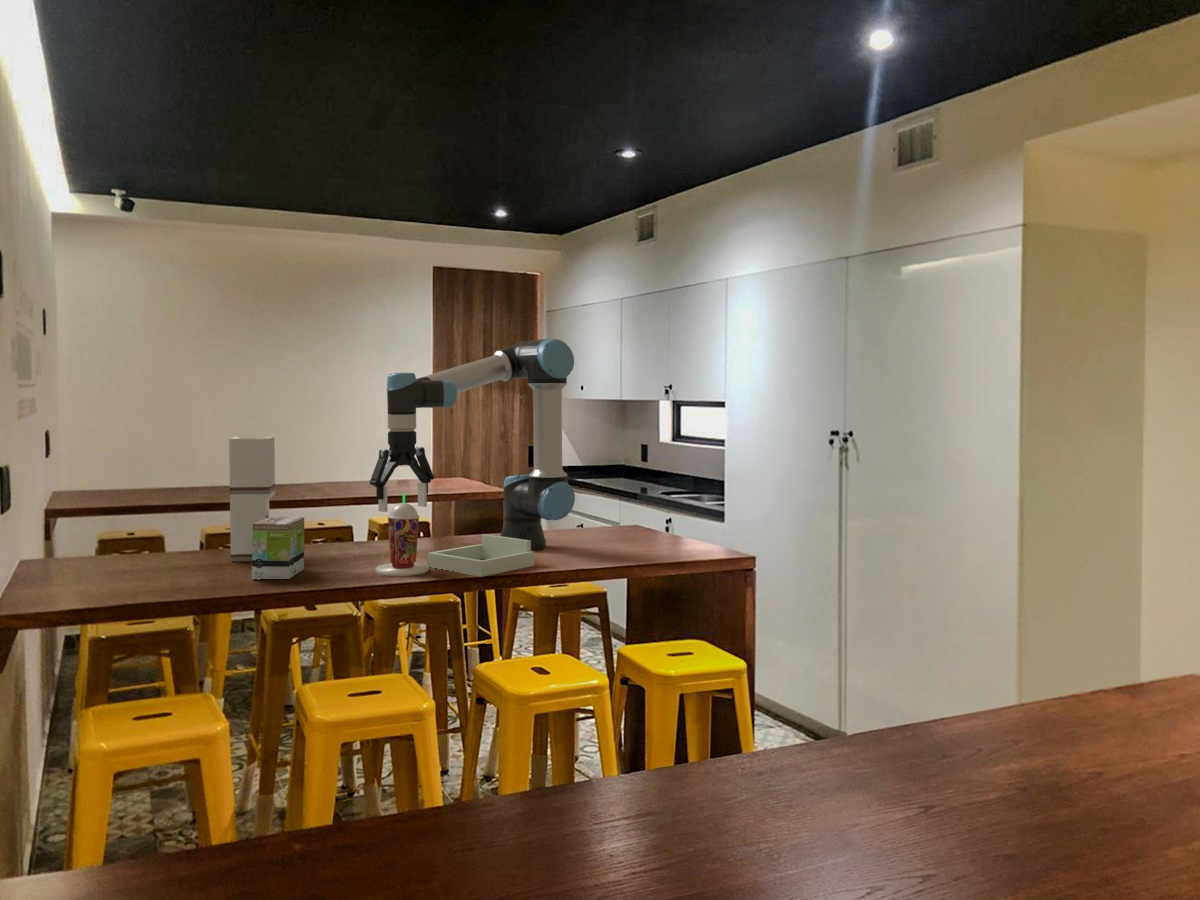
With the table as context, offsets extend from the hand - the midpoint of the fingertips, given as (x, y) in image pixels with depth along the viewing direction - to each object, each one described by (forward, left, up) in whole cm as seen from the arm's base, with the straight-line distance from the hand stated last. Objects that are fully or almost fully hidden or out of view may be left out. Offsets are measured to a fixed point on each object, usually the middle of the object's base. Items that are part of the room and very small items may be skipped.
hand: (403, 509), depth 250 cm
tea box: (+24, -21, -17) cm, 36 cm away
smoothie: (0, 0, -16) cm, 16 cm away
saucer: (0, 0, -17) cm, 17 cm away
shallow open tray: (-19, +11, -17) cm, 28 cm away
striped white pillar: (+14, -49, -17) cm, 54 cm away
